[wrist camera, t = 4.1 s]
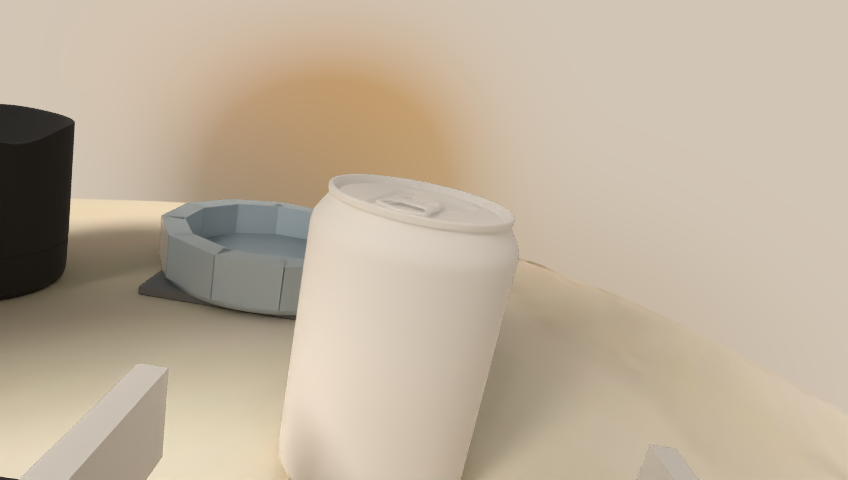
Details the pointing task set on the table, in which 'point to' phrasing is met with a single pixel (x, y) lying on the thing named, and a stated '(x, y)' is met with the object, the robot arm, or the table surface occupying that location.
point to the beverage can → (394, 330)
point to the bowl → (237, 253)
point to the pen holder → (33, 197)
